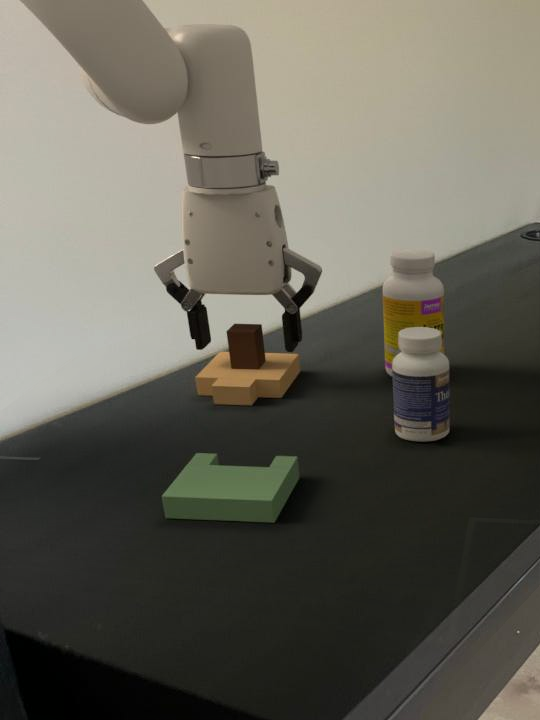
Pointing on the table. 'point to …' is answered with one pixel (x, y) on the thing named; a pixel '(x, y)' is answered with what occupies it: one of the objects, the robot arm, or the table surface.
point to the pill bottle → (421, 386)
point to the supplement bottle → (411, 299)
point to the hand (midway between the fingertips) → (248, 347)
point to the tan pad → (247, 369)
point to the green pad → (231, 490)
